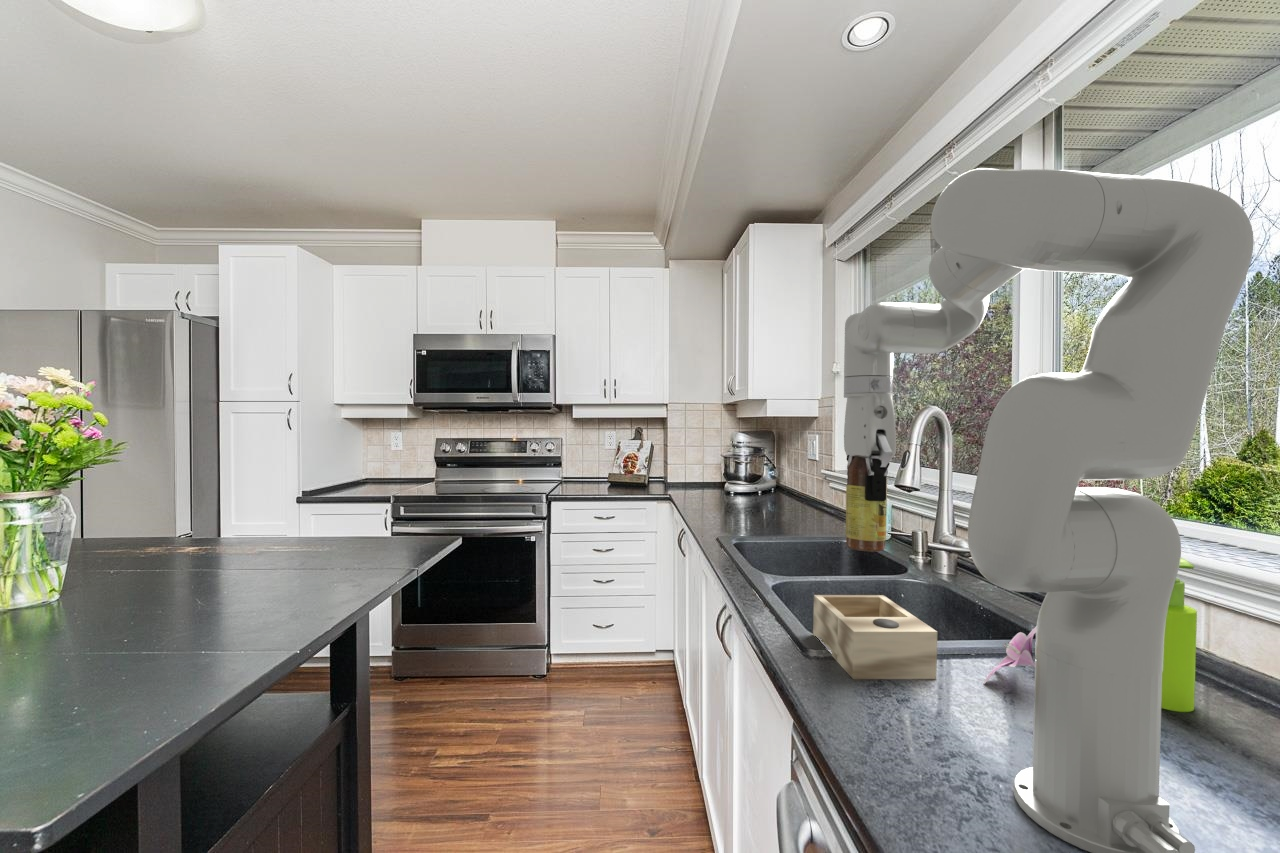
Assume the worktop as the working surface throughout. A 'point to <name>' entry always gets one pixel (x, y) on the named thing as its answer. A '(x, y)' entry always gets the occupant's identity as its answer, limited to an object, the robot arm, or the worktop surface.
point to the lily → (1017, 652)
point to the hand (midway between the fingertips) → (865, 496)
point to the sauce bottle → (863, 511)
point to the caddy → (875, 637)
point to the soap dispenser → (1179, 651)
